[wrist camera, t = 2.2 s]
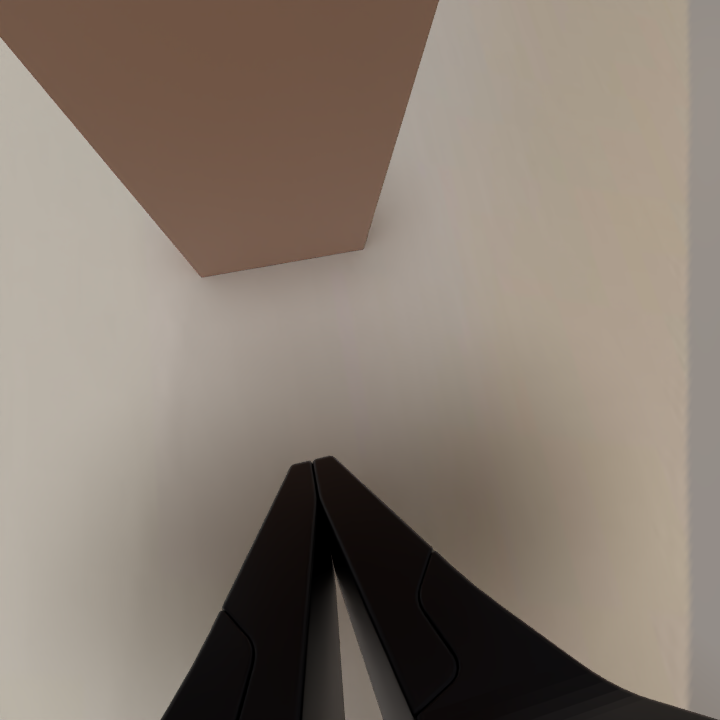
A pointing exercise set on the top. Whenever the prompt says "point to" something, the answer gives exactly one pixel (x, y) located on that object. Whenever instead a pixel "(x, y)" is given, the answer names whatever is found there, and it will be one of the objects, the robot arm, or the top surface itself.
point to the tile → (234, 111)
